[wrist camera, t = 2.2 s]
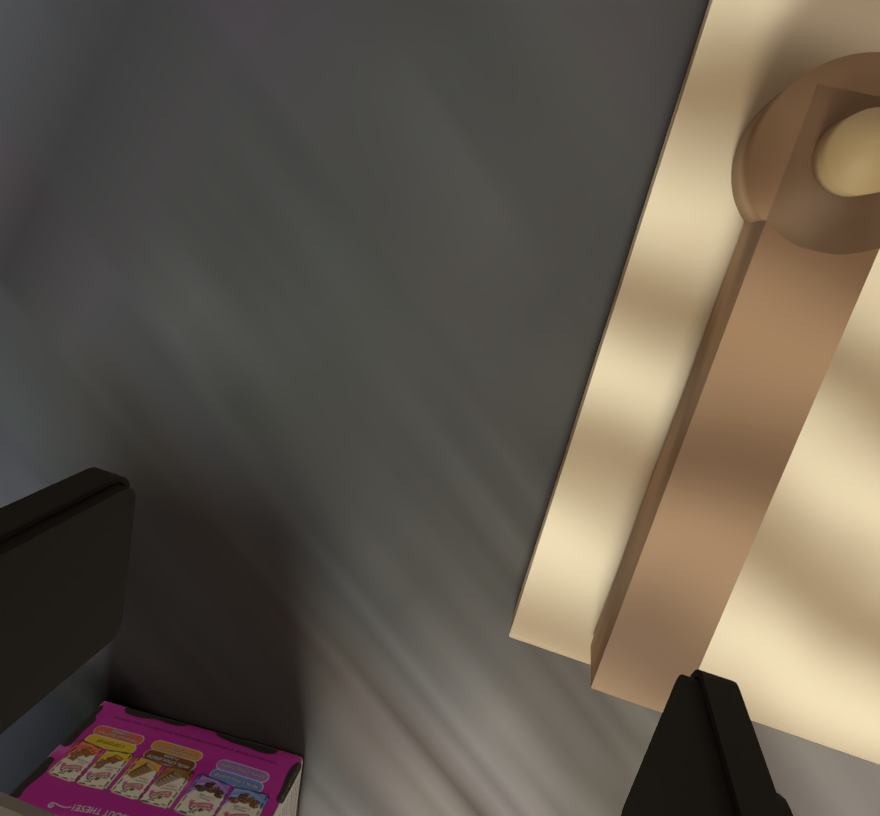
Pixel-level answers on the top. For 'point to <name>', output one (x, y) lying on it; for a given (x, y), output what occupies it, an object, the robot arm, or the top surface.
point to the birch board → (660, 390)
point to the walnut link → (750, 373)
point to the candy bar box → (160, 771)
